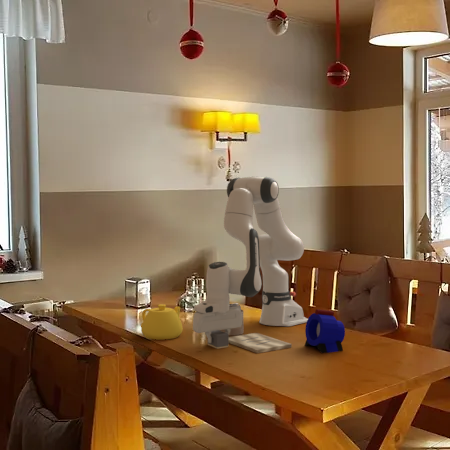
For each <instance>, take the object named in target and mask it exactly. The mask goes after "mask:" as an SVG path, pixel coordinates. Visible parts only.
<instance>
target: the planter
mask: <svg viewBox="0 0 450 450" xmlns="http://www.w3.org/2000/svg"><path fill="white" fill-rule="evenodd" d="M241 317H242V325H241V327H237V328H231V329H230V333H229V337H233V336H239V335H244V332H245V331H244V330H245V329H244V328H245V327H244V325H245V324H244V310H243V309H241ZM219 331H222V332H225V330H219Z"/></svg>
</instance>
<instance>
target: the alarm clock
mask: <svg viewBox="0 0 450 450" xmlns="http://www.w3.org/2000/svg"><path fill="white" fill-rule="evenodd" d="M304 329H305V331H304V334H305V338H306V340H305V343H304V346H306V347H307V346H314V347H316V348H317V350H318V351H319V352H320V353H321V354H330V353H335V352H343V351H344V350H343V341H344V340H345V336H346V327H345V324H344V323H343V322H342V321H341V320H337V319H336V317H335V312H334V311H333V310H326V309H318V308H316V309H315V311H314V312H313V313H311V314H310V316H309V317H308V320H307V322H305V328H304Z"/></svg>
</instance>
